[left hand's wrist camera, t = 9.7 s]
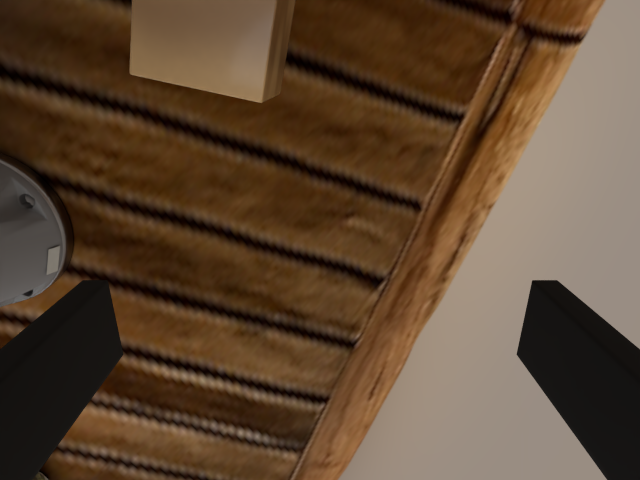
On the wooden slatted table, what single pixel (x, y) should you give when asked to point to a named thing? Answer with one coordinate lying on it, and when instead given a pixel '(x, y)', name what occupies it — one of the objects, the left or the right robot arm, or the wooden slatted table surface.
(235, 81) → the bar
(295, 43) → the wooden slatted table surface
